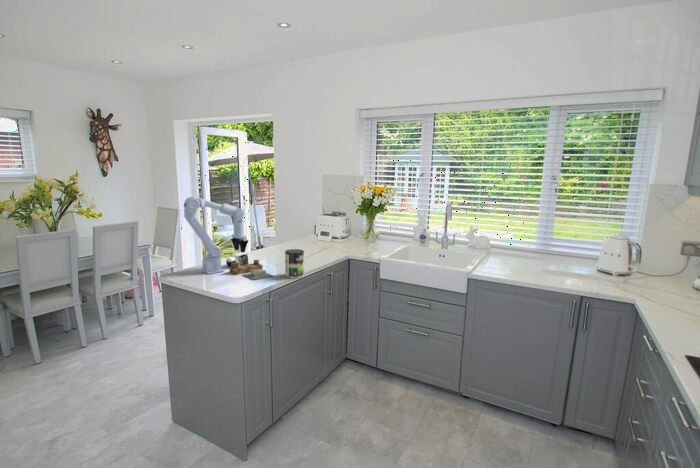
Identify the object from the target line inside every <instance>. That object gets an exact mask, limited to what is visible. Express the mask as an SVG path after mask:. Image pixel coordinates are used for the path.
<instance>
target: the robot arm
mask: <svg viewBox="0 0 700 468" xmlns="http://www.w3.org/2000/svg"><path fill="white" fill-rule="evenodd" d="M205 207H206V208H211V209H214V210H218V211H219V212H220V214H223V215H226V216H229V217H233V219H232V220H233V221H232V222H233V234H231V238H230V241H231V243H232V244H233V248H234V251H239V250H240V252H242V253H243V252H244V253H246V250H247V249H246V248H247V246H248V244H249V240H248V237H247V235H246V234H245V224H244V217H245V215H246V214H245V210H244V209H242V207H241V208H240V207H237V205H230V204H229V203H227V202H226V203H224V202H223V203H221V204H219V203H216V202H213V201H210V200H207V199H204V198H197V197H196V198H195V197H194V196H193V197H192V196H189V197H187V198H185V200H184V204H183V212H184V213H183V215H184V216H183V217H184V219H185V220H186V222H187V223H188V225H190V227H191V228H192V230H193V231H194V232H195V235H197V237H198V238H199V239H200V241H201V242H202V243H203V246H205V248H206V249H205V250H206V253H207V255H206V257H203V258H202V261H201V262H202V273H205V274H207V275H210V274H215V273H216V274H217V273H222V272H225V270H224V269H222V259H221V258H222V255H221V253H222V248H221V247H220V246H218V245H217V244H216V243H215V242H214V241H213V240H212V238H211V237H210V235H209V234H208V233H207V232H206V230H205V229H204V227H203V225H201V223H200V222H199V220H198V219H197V218H196V213H197V211H198V209H199V208H205Z"/></svg>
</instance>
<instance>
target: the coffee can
mask: <svg viewBox="0 0 700 468" xmlns="http://www.w3.org/2000/svg"><path fill="white" fill-rule="evenodd" d="M304 253H305V250H303V249H297V248H296V249H295V248H294V249H286V250H285V251H284V256H285V257H284V259H285V260H284V261H285V262H284V263H285V267H284V268H285V269H284V270H285V273H284V275H285V276H284V277H286V278H289V279H290V278H291V279H298V278H299V279H300V278H303V277H304V267H305V266H304V263H305V262H304V256H305V255H304Z"/></svg>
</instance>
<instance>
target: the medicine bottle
mask: <svg viewBox="0 0 700 468" xmlns="http://www.w3.org/2000/svg"><path fill="white" fill-rule="evenodd" d="M248 253H249V252H248ZM248 253H247V252H243V253H242V252H241V251H238V252H235V253H232V254H230V256H229V257H227V258H226V260H225V263H226V266H227V267H228V268H229V267H231V263H233V262H237V263H238V266H240V265H246V264H250V262H249V261H250V260H249V254H248Z"/></svg>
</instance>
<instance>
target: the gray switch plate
mask: <svg viewBox="0 0 700 468" xmlns="http://www.w3.org/2000/svg"><path fill="white" fill-rule="evenodd" d="M242 276H243V277H245V278H247V279H249V280H252V281H257V280H263V279H267V278H272V277H274V275H273V274H270V273H268V272H266V275H262V276H257V277H253V276H251V275H250V272H249V273H244V274H242Z"/></svg>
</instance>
